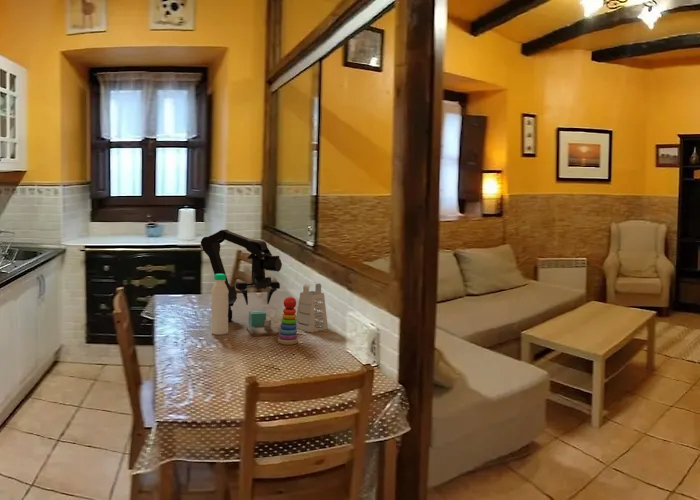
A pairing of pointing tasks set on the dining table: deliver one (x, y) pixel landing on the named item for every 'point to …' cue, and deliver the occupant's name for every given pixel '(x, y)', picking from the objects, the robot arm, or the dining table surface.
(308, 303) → the grater
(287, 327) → the stacking toy
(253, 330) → the keyed post base
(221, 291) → the water bottle
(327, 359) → the dining table surface
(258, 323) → the teal drawer cube
